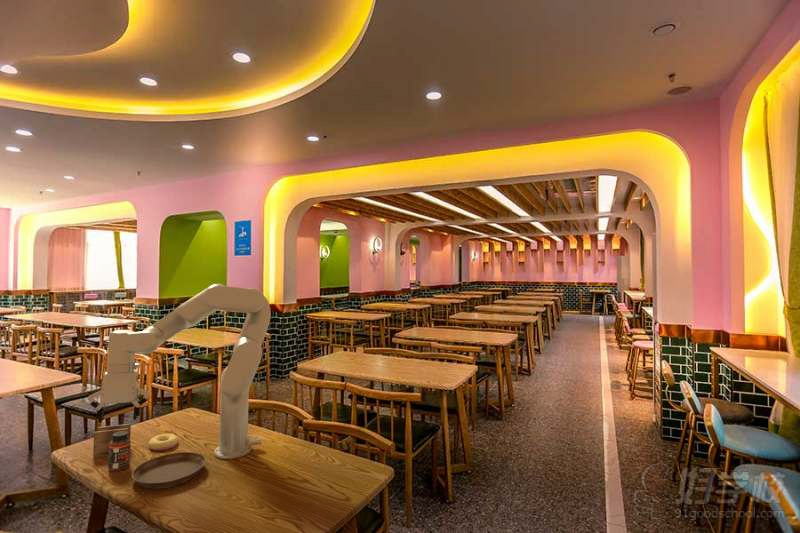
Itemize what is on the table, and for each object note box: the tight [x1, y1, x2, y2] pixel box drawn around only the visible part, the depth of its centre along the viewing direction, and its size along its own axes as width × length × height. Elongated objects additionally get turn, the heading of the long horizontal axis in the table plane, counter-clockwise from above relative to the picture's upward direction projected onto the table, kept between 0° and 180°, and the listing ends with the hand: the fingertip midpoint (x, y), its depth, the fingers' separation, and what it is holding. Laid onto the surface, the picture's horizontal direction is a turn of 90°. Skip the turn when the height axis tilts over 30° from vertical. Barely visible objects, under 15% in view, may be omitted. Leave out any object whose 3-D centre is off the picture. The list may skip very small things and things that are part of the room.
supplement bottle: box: [107, 431, 131, 472], centre depth 136 cm, size 6×6×11 cm
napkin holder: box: [92, 423, 132, 458], centre depth 147 cm, size 10×5×9 cm, turn 113°
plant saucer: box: [131, 451, 206, 490], centre depth 132 cm, size 21×21×3 cm
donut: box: [148, 433, 179, 452], centre depth 153 cm, size 10×5×9 cm
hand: (118, 419), depth 136 cm, fingers open, 9 cm apart
